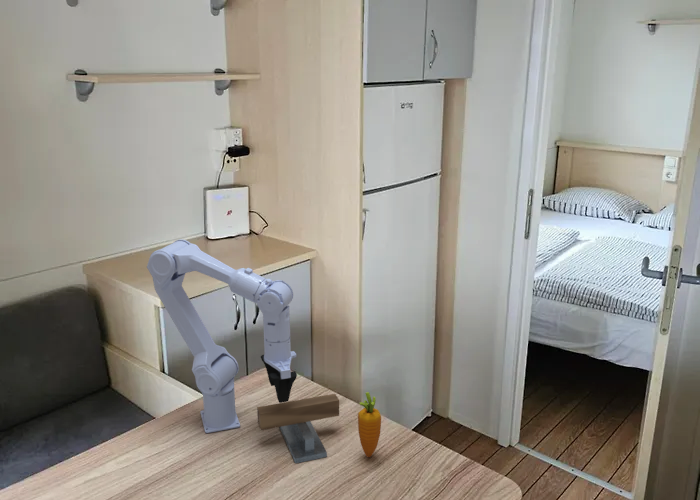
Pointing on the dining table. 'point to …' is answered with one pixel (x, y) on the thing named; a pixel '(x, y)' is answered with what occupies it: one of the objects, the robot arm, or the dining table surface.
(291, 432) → the stand
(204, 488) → the dining table surface
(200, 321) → the robot arm
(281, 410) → the walnut rod
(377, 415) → the carrot
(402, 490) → the dining table surface
